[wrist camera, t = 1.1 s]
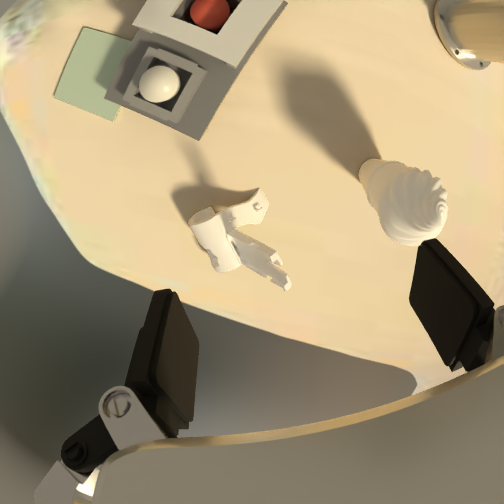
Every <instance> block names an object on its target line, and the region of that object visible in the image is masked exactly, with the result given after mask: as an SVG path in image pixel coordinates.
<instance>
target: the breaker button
mask: <svg viewBox="0 0 504 504" xmlns="http://www.w3.org/2000/svg"><path fill="white" fill-rule="evenodd" d="M190 15H191V18H192V19H193V21H194V22H195V24H196V25H197V27H200V28H202V29H205V30H207V31H209V32H215V31H218V30H221V29H222V27H223V26H224V24H225V23H226V21H227V20H228V19H229V17H230V9H229V4H228V2H227V1H226V0H196V1H195V2H194V3H193V4H192V6H191V9H190Z"/></svg>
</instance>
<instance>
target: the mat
mask: <svg viewBox="0 0 504 504" xmlns="http://www.w3.org/2000/svg"><path fill="white" fill-rule="evenodd" d="M131 42H132V41H129V40H126V39H123V38H120V37H117V36H114V35H111V34H107V33H104V32H100V31H97V30H93V29H89V28H85V27H84V28H83V30H82V32H81V34H80V36H79V38H78V40H77V42H76V44H75V47H74V49H73V51H72V53H71V55H70V57H69V60H68V62H67V64H66V67H65V69H64V72H63V74H62V77H61V79H60V82H59V84H58V87H57V90H56V93H55V95H54V98H55V99H58V100H60V101H63V102H66V103H68V104H71V105H73V106H76V107H78V108H81V109H83V110H86V111H88V112H91V113H93V114H95V115H98V116H100V117H103V118H105V119H107V120H110V121H112V122H113V121H115V119H116V116H117V114H118V111H119V109H120V107H121V105H119V104H116V103H114V102H111V101H109V100H106V99H104V97H105V94H106V92H107V90H108V88H109V85H110V83H111V81H112V79H113V77H114V75H115V72H116V70H117V68H118V66H119V64H120V62H121V60H122V58H123V56H124V55H125V53H126V51H127V49H128V47H129V45H130V43H131Z"/></svg>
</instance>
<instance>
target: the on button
mask: <svg viewBox="0 0 504 504" xmlns="http://www.w3.org/2000/svg"><path fill="white" fill-rule="evenodd" d="M180 86H181V79H180V76H179V74H178V73H177V72H176V71H175V70H174V69H172V68H169V67H165V66H154V67H152V68H150V69H148V70H147V71H146V72H145V73H144V74H143V75H142V77H141V79H140V82H139V90H140V93H141V95H142V96H143V97H144V98H145V99H146V100H148V101H150V102H163V101H167V100H170V99H171V98H173V97H174V96H175V95H176V94H177V93H178V91H179V89H180Z"/></svg>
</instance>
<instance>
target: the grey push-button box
mask: <svg viewBox="0 0 504 504" xmlns="http://www.w3.org/2000/svg"><path fill="white" fill-rule="evenodd" d="M195 1H196V0H147V1H146V3H145V4H144V6H143V7H142V9H141V11H140V12H139V14H138V15H137V17H136V19H135V20H134V22H133V24H132V25H134V26H136V27H137V28H139V29H138V31H137V33H136V35H135V36H134V38H133V40H132V42H131V43H130V45H129V47H128V49H127V51H126V53H125V55H124V56H123V58H122V60H121V62H120V64H119V66H118V68H117V70H116V72H115V75H114V77H113V79H112V81H111V83H110V85H109V88H108V90H107V92H106V94H105V97H104V99H106V100H109V101H111V102H114V103H116V104H119V105H121V106H123V107H126V108H128V109H130V110H133V111H135V112H137V113H140V114H142V115H144V116H147V117H149V118H151V119H153V120H156V121H158V122H160V123H162V124H164V125H167V126H169V127H171V128H173V129H175V130H177V131H179V132H182V133H184V134H186V135H188V136H190V137H192V138H194V139H196V140H198V141H199V140H200V139H201V137H202V136H203V134H204V132H205V131H206V129H207V127H208V125H209V123H210V122H211V120H212V118H213V116H214V115H215V113H216V111H217V110H218V108H219V106H220V104H221V103H222V101H223V99H224V98H225V96H226V94H227V93H228V91H229V90H230V88H231V86H232V85H233V83H234V81H235V80H236V78H237V77H238V75H239V74H240V72H241V70H242V69H243V67H244V66H245V64H246V63H247V61H248V60H249V58H250V57H251V55H252V54H253V52H254V51H255V49H256V48H257V46H258V45H259V43H260V42H261V41H262V39H263V38H264V36H265V35H266V33H267V32H268V31H269V29H270V28H271V26H272V25H273V24H274V22H275V21H276V20H277V18H278V17H279V16H280V14H281V13H282V12H283V10H284V9H285V7H286V5H287V4H288V3H287V2H285V1H283V0H226V1H227V2H228V4H229V7H231V8H233V9H235V10H234V12H233V13H232V14H231V16H230V17H229V19H228V20H227V21H226V23H225V24H224V26H223V27H222V29H221V30H220V32H219V33H218V35H216V34H214V33H212V32H209V31H207V30H205V29H202V28H200V27H197V26H195V25H192V24H190V23H188V22H189V21H190V19H191V15H190V9H191V6H192V4H193V3H194V2H195ZM154 66H165V67H169V68H172V69H174V70H175V71H176V72H177V73H178V74H179V76H180V79H181V86H180V89H179V91H178V93H177V94H176V95H175V96H174V97H173V98H171V99H170V100H167V101H163V102H150V101H148V100H146V99H145V98H144V97H143V96H142V95H141V93H140V90H139V82H140V79H141V77H142V75H143V74H144V73H145V72H146V71H147V70H148V69H150V68H152V67H154Z"/></svg>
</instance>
